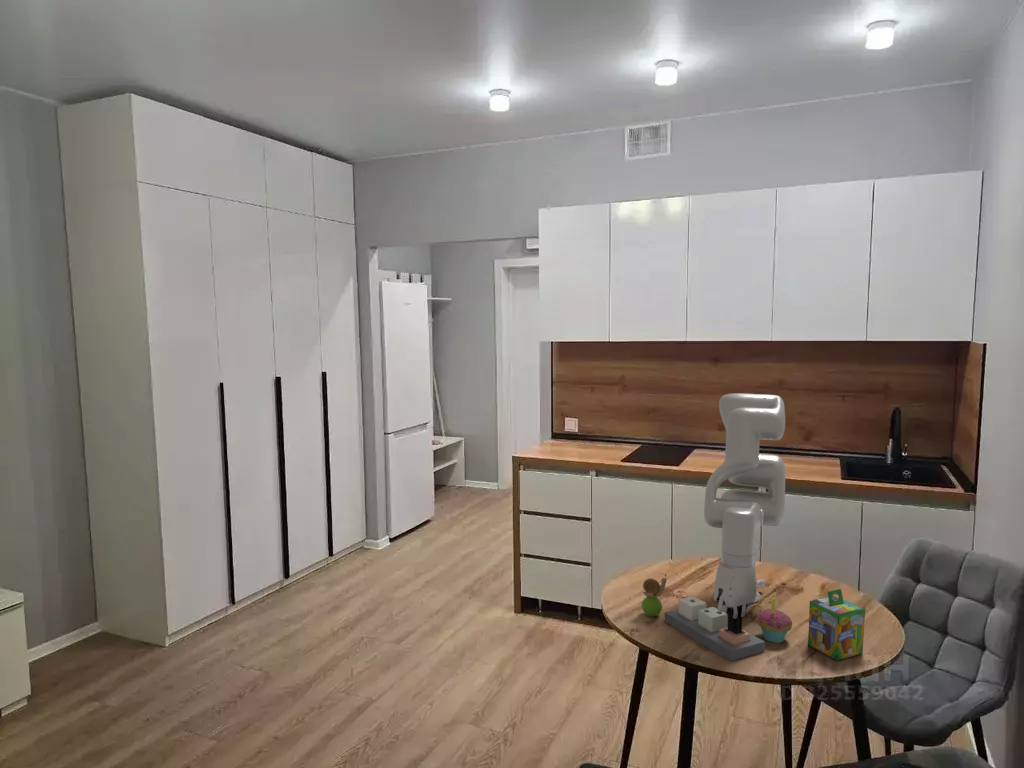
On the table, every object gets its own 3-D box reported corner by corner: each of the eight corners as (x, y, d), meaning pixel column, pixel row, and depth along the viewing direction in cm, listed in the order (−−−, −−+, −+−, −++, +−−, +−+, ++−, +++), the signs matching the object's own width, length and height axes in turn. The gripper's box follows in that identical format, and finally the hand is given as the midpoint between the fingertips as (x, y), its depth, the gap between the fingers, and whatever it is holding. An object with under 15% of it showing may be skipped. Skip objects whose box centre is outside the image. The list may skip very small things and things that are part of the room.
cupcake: (787, 649, 164) (790, 602, 163) (752, 640, 168) (753, 594, 167) (793, 635, 171) (796, 590, 170) (759, 627, 176) (761, 583, 175)
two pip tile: (698, 625, 172) (698, 609, 172) (712, 621, 174) (713, 605, 174) (712, 633, 167) (712, 617, 167) (726, 629, 170) (727, 613, 169)
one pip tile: (678, 613, 179) (678, 598, 178) (692, 610, 181) (693, 595, 180) (691, 621, 174) (691, 605, 174) (705, 617, 176) (706, 602, 176)
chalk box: (837, 662, 158) (840, 601, 157) (806, 644, 167) (808, 587, 165) (864, 654, 162) (867, 595, 161) (832, 638, 170) (835, 582, 169)
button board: (664, 621, 179) (664, 612, 179) (695, 613, 184) (696, 604, 184) (731, 661, 158) (731, 651, 158) (764, 651, 163) (764, 641, 163)
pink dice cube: (719, 645, 165) (719, 628, 165) (733, 640, 168) (734, 624, 167) (734, 653, 161) (734, 637, 161) (749, 649, 163) (749, 632, 163)
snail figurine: (665, 621, 179) (667, 577, 178) (641, 618, 180) (642, 575, 179) (665, 612, 185) (666, 570, 183) (641, 610, 186) (642, 568, 185)
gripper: (748, 549, 169) (745, 619, 170) (703, 558, 162) (700, 631, 164) (771, 558, 162) (768, 631, 164) (726, 568, 156) (723, 644, 157)
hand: (734, 631), depth 164 cm, fingers closed
